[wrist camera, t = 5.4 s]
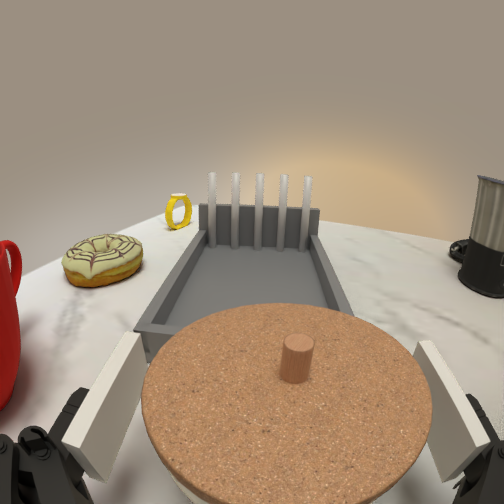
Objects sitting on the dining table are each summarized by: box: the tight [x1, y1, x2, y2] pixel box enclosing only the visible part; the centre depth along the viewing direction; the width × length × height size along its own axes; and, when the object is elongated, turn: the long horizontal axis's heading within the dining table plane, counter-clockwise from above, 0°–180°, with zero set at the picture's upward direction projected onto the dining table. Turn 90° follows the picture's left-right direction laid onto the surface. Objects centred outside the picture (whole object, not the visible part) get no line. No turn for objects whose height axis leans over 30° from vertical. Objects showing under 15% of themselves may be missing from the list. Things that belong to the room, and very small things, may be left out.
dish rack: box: [133, 172, 355, 363], centre depth 29 cm, size 16×24×11 cm, turn 177°
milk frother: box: [450, 175, 504, 297], centre depth 34 cm, size 14×16×15 cm
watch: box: [165, 193, 192, 230], centre depth 51 cm, size 6×3×6 cm, turn 155°
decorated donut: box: [61, 234, 143, 287], centre depth 34 cm, size 10×11×4 cm
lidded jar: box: [141, 303, 433, 504], centre depth 11 cm, size 11×11×9 cm
